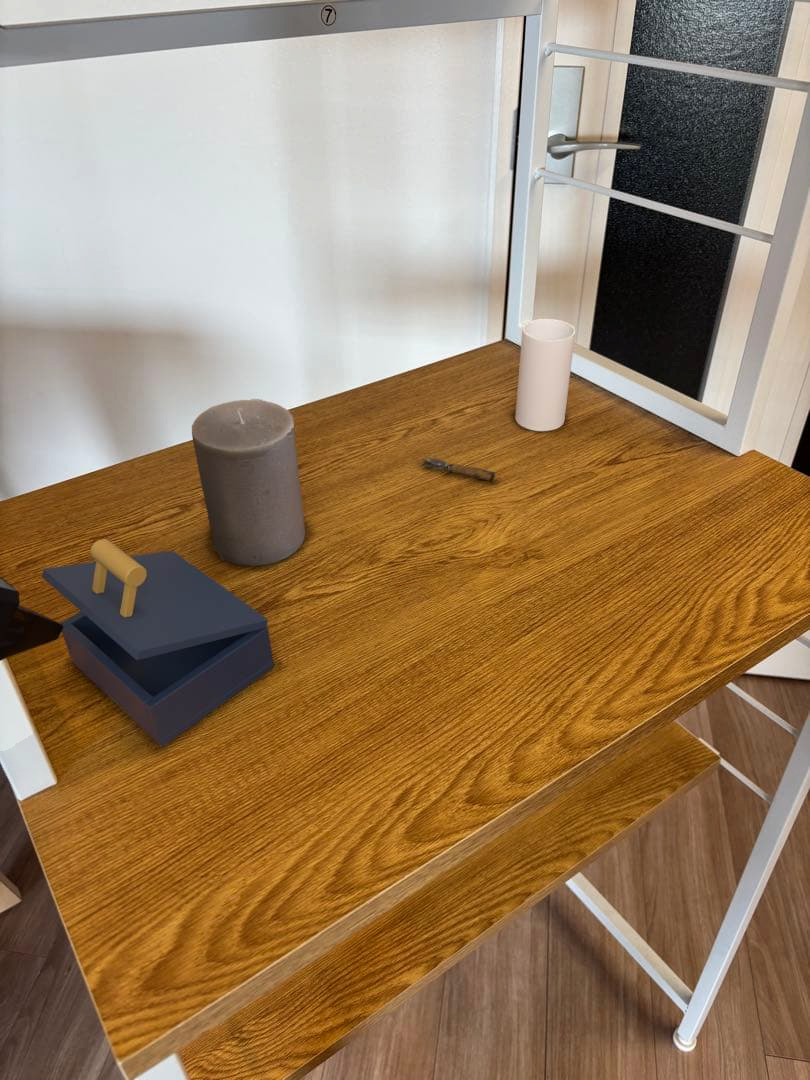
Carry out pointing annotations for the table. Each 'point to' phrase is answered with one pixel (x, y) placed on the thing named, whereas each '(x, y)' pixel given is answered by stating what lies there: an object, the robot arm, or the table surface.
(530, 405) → the cup
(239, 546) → the pillar candle
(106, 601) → the lid
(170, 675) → the chest
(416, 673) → the table surface
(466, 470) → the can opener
